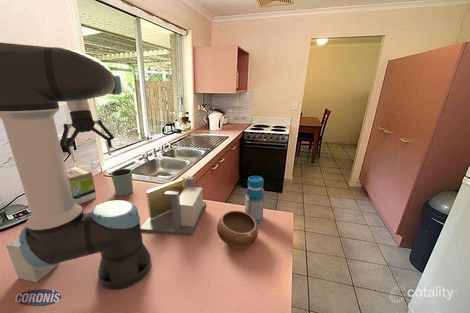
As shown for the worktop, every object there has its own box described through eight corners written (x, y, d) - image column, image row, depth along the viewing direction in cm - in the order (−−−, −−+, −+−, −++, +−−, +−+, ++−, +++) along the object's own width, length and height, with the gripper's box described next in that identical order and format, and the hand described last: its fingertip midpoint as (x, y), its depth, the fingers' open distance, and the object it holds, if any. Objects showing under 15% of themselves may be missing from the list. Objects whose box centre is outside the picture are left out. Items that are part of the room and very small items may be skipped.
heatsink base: (205, 204, 108) (204, 172, 103) (192, 235, 85) (190, 197, 80) (163, 201, 110) (160, 170, 104) (139, 231, 87) (134, 193, 82)
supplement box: (37, 283, 64) (24, 249, 60) (17, 278, 65) (4, 245, 61) (60, 264, 71) (51, 232, 67) (42, 260, 72) (32, 229, 68)
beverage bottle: (255, 226, 92) (257, 184, 85) (240, 218, 97) (241, 178, 91) (266, 218, 97) (269, 178, 91) (251, 211, 103) (254, 173, 96)
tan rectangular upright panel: (187, 202, 106) (186, 178, 101) (152, 219, 92) (148, 192, 88) (184, 200, 107) (183, 177, 103) (149, 217, 93) (145, 190, 89)
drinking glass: (128, 186, 125) (125, 167, 121) (138, 191, 120) (135, 171, 116) (110, 192, 117) (107, 172, 113) (120, 198, 112) (116, 177, 108)
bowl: (250, 260, 74) (252, 236, 71) (210, 248, 79) (209, 225, 76) (261, 233, 88) (262, 212, 85) (226, 224, 93) (226, 204, 90)
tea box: (97, 197, 112) (92, 171, 107) (75, 206, 104) (69, 178, 99) (83, 190, 119) (78, 165, 115) (62, 197, 111) (55, 171, 107)
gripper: (113, 107, 99) (124, 151, 104) (46, 114, 90) (62, 162, 94) (111, 106, 93) (123, 153, 98) (39, 113, 83) (56, 165, 88)
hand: (93, 158), depth 96 cm, fingers open, 13 cm apart
